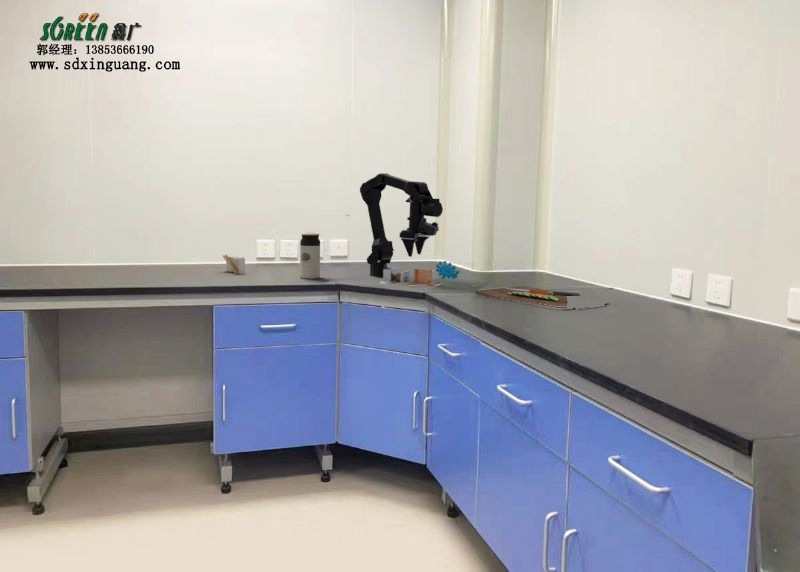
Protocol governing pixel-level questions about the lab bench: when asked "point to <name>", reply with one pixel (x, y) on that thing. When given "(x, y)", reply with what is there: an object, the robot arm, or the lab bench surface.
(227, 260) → the model
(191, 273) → the lab bench surface
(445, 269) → the gear
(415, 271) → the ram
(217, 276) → the lab bench surface
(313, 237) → the travel mug
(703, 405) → the lab bench surface
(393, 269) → the brushed steel block
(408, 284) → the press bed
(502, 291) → the chopping board
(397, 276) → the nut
